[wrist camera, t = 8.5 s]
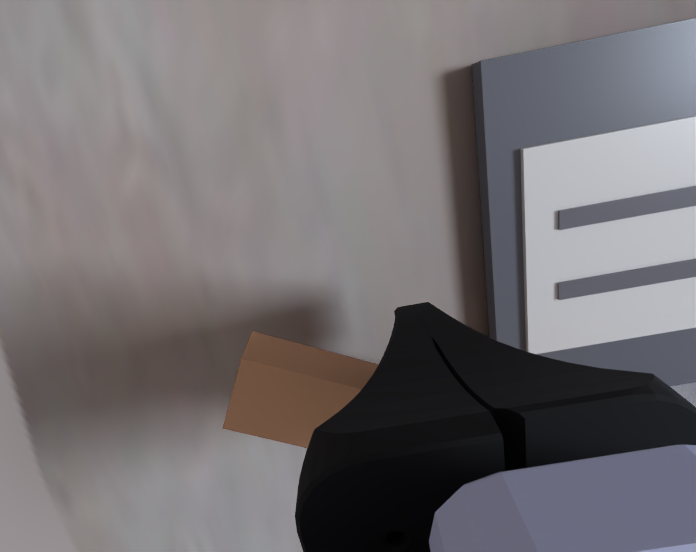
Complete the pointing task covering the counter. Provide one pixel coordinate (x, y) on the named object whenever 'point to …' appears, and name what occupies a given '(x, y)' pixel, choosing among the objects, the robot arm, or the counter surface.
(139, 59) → the counter surface
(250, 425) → the bar
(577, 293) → the panel
